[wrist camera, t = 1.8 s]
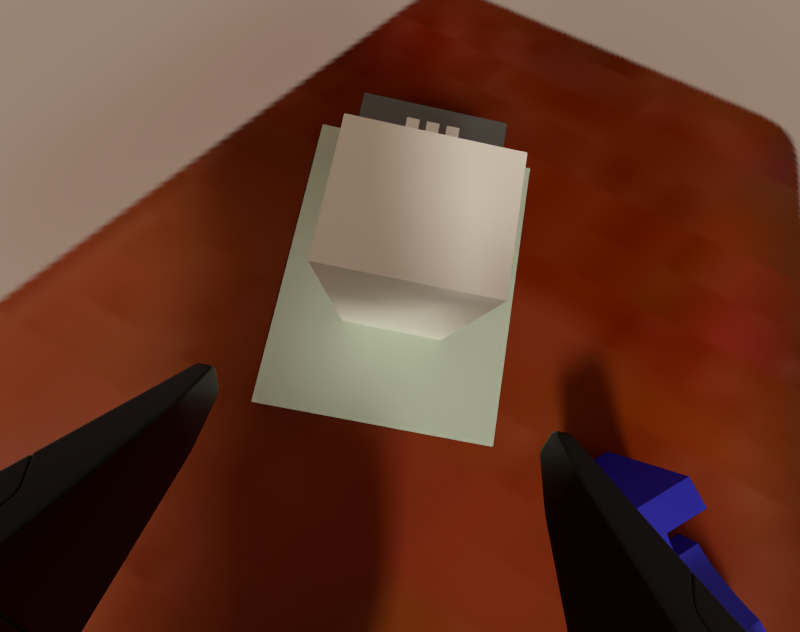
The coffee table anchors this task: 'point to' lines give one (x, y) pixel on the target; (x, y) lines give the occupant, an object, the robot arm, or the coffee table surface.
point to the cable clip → (674, 521)
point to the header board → (379, 348)
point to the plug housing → (416, 227)
